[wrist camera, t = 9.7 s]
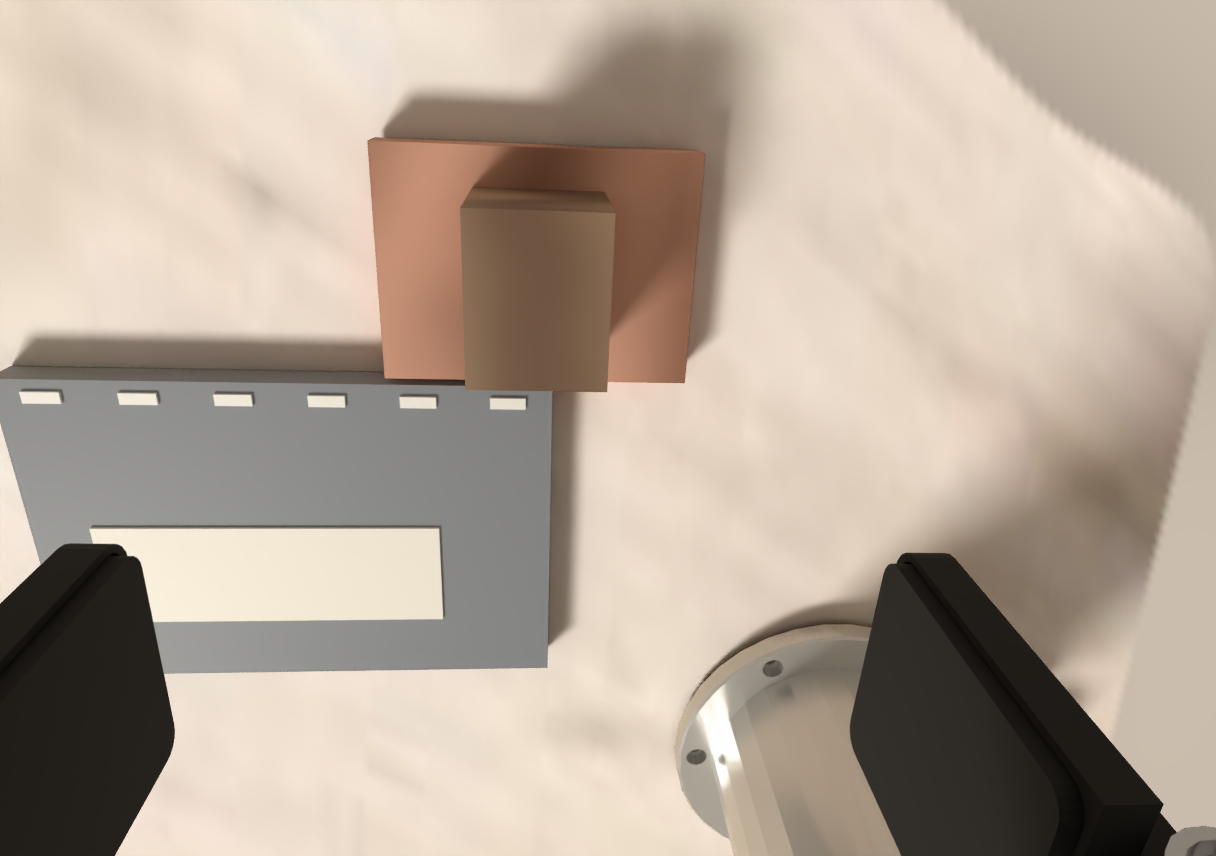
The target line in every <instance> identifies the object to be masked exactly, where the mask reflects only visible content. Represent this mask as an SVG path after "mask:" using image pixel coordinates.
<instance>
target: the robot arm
mask: <svg viewBox="0 0 1216 856" xmlns="http://www.w3.org/2000/svg"><path fill="white" fill-rule="evenodd" d="M174 735H175V729H174V722H173V717H172V712H171V707H170V702H169V697H168V692H167V687H166V682H165V677H164V672H163V667H162V662H161V658H160V653H159V648H158V643H157V638H156V633H155V628H154V623H153V618H152V613H151V608H150V603H149V599H148V594H147V589H146V584H145V579H144V574H143V569H142V566H141V562H140V561H139V559H138V558H137V557H135V556H127V553H126V551H125V550H124V548H123V547H122V546H120V545H118V544H84V543H70V544H64V545H62V546H61V547H59V548H58V549H57V550H56V551H55V552H54V553H53V554H52V555H51V556H49V557H48V558H47V559H46V560H45V561H44V562H43V563H42V564H41V565H40V566H39V567H38V568H37V569H36V570H35V571H34V572H33V573H32V574H31V575H30V576H29V577H28V578H27V579H26V580H24V581H23V582H22V583H21V584H20V585H19V586H18V587H17V588H16V589H15V590H14V591H13V592H12V593H11V594H10V595H9V596H8V597H7V598H6V599H5V600H4V601H3V602H2V603H1V604H0V856H115V854H116V852H117V851H118V849H119V847H120V845H121V843H122V842H123V840H124V838H125V836H126V834H127V833H128V831H129V829H130V827H131V826H132V824H133V822H134V820H135V818H136V817H137V815H138V813H139V811H140V809H141V808H142V806H143V804H144V802H145V800H146V799H147V797H148V795H149V793H150V791H151V790H152V788H153V786H154V784H155V782H156V781H157V779H158V777H159V775H160V773H161V772H162V770H163V768H164V766H165V764H166V763H167V761H168V759H169V756H170V754H171V751H172V748H173V743H174ZM675 755H676V767H677V771H678V775H679V780H680V784H681V788H682V791H683V793H684V795H685V797H686V799H687V801H688V803H689V805H690V807H691V808H692V810H693V811H694V812H695V813H696V814H697V815H698V816H699V818H700V819H701V820H702V821H703V822H704V823H705V824H706V825H708V826H709V827H711V828H712V829H713V830H715V831H716V832H718V833H719V834H720V835H722V836H724V837H726V838H728V839H730V842H731V846H732V850H733V854H734V856H1216V828H1214V827H1207V826H1200V827H1191V828H1184V829H1182V830H1181V831H1179V832H1176V831H1175V830H1174V829H1173V827H1172V826H1171V825H1170V824H1169V823H1168V821H1167V820H1166V819H1165V818H1164V817H1163V815H1162V814H1161V813H1160V811H1161V809H1162V806H1163V803H1162V802H1161V801H1160V799H1159V798H1158V797H1157V796H1156V795H1155V794H1154V793H1153V791H1152V790H1151V789H1150V788H1149V787H1148V785H1147V784H1146V783H1145V782H1144V781H1143V780H1142V778H1141V777H1140V776H1139V775H1138V774H1137V773H1136V771H1135V770H1134V769H1133V768H1132V767H1131V765H1130V764H1129V763H1128V762H1127V761H1126V759H1125V758H1124V757H1123V756H1122V755H1121V754H1120V752H1119V751H1118V750H1117V749H1116V748H1115V746H1114V745H1113V744H1112V743H1111V742H1110V741H1109V739H1108V738H1107V737H1106V736H1105V735H1104V734H1103V732H1102V731H1101V730H1100V729H1099V728H1098V726H1097V725H1096V724H1095V723H1094V722H1093V721H1092V719H1091V718H1090V717H1089V716H1088V715H1087V713H1086V712H1085V711H1084V710H1083V709H1082V708H1081V706H1080V705H1079V704H1078V703H1077V702H1076V701H1075V699H1074V698H1073V697H1072V696H1071V695H1070V693H1069V692H1068V691H1067V690H1066V689H1065V688H1064V686H1063V685H1062V684H1061V683H1060V682H1059V681H1058V679H1057V678H1056V677H1055V676H1054V675H1053V673H1052V672H1051V671H1050V670H1049V669H1048V668H1047V666H1046V665H1045V664H1044V663H1043V662H1042V660H1041V659H1040V658H1039V657H1038V656H1037V655H1036V653H1035V652H1034V651H1033V650H1032V649H1031V648H1030V646H1029V645H1028V644H1027V643H1026V642H1025V640H1024V639H1023V638H1022V637H1021V636H1020V635H1019V633H1018V632H1017V631H1016V630H1015V629H1014V628H1013V626H1012V625H1011V624H1010V623H1009V622H1008V620H1007V619H1006V618H1005V617H1004V616H1003V615H1002V613H1001V612H1000V611H999V610H998V609H997V607H996V606H995V605H994V604H993V603H992V602H991V600H990V599H989V598H988V597H987V596H986V595H985V593H984V592H983V591H982V590H981V589H980V587H979V586H978V585H977V584H976V583H975V582H974V580H973V579H972V578H971V577H970V576H969V575H968V573H967V572H966V571H965V570H964V569H963V567H962V566H961V565H960V564H959V563H958V562H957V560H956V559H955V558H954V557H953V556H951V555H950V554H946V553H905V554H903V555H901V556H900V558H899V559H898V561H897V564H890V565H888V566H887V567H886V569H885V572H884V575H883V579H882V583H881V588H880V592H879V597H878V601H877V605H876V610H875V614H874V619H873V623H872V627H865V626H859V625H853V624H823V625H817V626H811V627H805V628H799V629H794V630H790V631H787V632H784V633H781V634H778V635H775V636H772V637H769V638H766V639H764V640H762V641H760V642H758V643H756V644H754V645H752V646H750V647H748V648H746V649H744V650H742V651H741V652H739V653H738V654H736V655H735V656H734V657H732V658H731V659H729V660H728V661H727V662H725V663H724V664H722V665H721V666H720V667H718V668H717V669H716V670H715V671H714V672H713V673H712V674H711V675H710V676H709V677H708V678H707V679H706V680H705V681H704V682H703V683H702V684H701V685H700V687H699V688H698V690H697V691H696V693H695V694H694V696H693V697H692V699H691V700H690V702H689V703H688V704H687V706H686V709H685V711H684V713H683V716H682V718H681V721H680V723H679V725H678V730H677V736H676V742H675Z"/></svg>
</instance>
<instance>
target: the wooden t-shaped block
mask: <svg viewBox="0 0 1216 856" xmlns="http://www.w3.org/2000/svg"><path fill="white" fill-rule="evenodd" d="M368 155H369V169H370V183H371V197H372V211H373V224H374V238H375V252H376V266H377V280H378V294H379V308H380V322H381V335H382V349H383V363H384V377H385V378H391V379H455V380H465V390H496V391H565V392H607V383H608V382H648V383H685V374H686V363H687V351H688V340H689V329H690V318H691V307H692V296H693V284H694V273H695V262H696V251H697V240H698V229H699V217H700V206H701V195H702V184H703V173H704V161H705V154H704V153H702V152H700V151H695V150H671V149H647V148H622V147H598V146H574V145H549V144H525V143H501V142H477V141H452V140H428V139H404V138H379V137H375V138H372V139H370V140H368Z"/></svg>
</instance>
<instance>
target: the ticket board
mask: <svg viewBox="0 0 1216 856" xmlns="http://www.w3.org/2000/svg"><path fill="white" fill-rule="evenodd" d="M0 423H1V427H2V430H3V434H4V437H5V441H6V444H7V448H8V451H9V455H10V458H11V462H12V465H13V469H14V472H15V476H16V479H17V483H18V486H19V490H20V493H21V497H22V500H23V504H24V507H25V511H26V514H27V518H28V521H29V525H30V528H31V532H32V535H33V539H34V542H35V546H36V549H37V553H38V556H39V560H40V563H41V564H42V563H43V562H44V561H45V560H46V559H47V558H48V557H49V556H51V555H52V554H53V553H54V552H55V551H56V550H57V549H58V548H59V547H61V546H62V545H64V544H70V543H84V544H118V545H120V546H122V547H123V548H124V550H125V551H126V553H127V556H135V557H137V558H138V559H139V561H140V562H141V566H142V569H143V574H144V579H145V584H146V589H147V594H148V599H149V603H150V608H151V613H152V618H153V623H154V628H155V633H156V638H157V643H158V648H159V653H160V658H161V662H162V667H163V672H164V674H169V673H234V672H299V671H364V670H429V669H494V668H547V659H548V604H549V549H550V494H551V440H552V391H496V390H465V380H455V379H391V378H385V377H384V372H342V371H280V370H219V369H157V368H95V367H34V366H10V367H8V368H6V369H4V370H3V371H1V372H0Z"/></svg>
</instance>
